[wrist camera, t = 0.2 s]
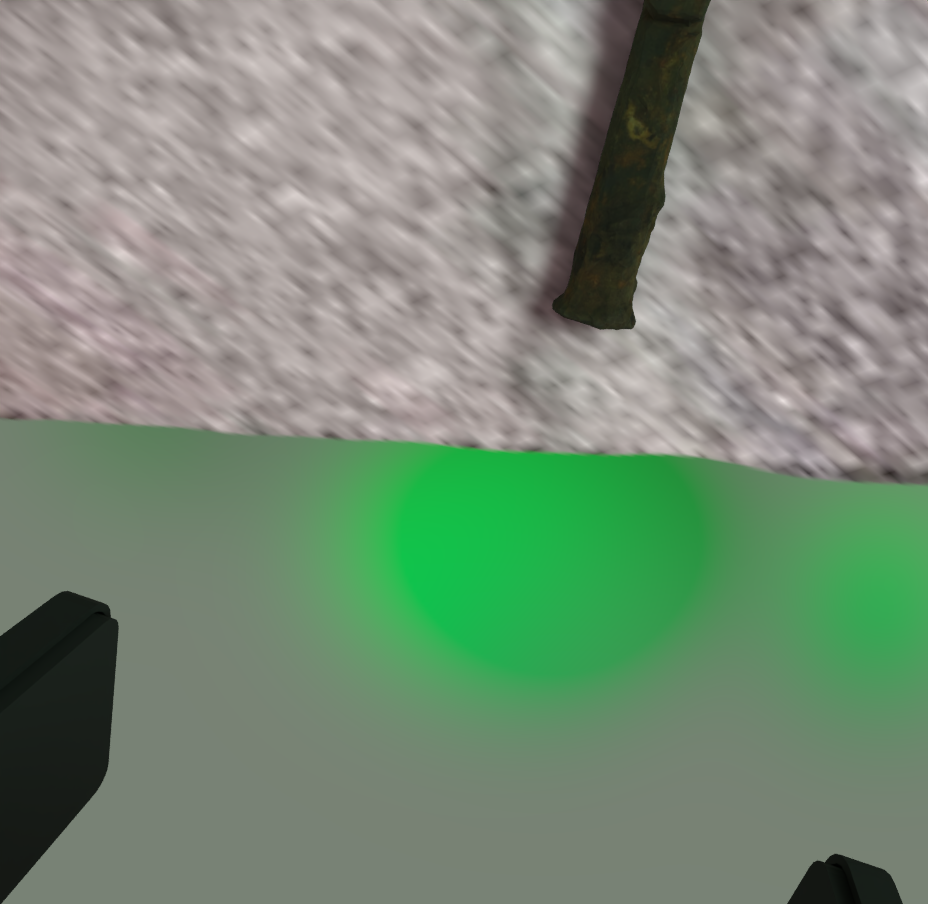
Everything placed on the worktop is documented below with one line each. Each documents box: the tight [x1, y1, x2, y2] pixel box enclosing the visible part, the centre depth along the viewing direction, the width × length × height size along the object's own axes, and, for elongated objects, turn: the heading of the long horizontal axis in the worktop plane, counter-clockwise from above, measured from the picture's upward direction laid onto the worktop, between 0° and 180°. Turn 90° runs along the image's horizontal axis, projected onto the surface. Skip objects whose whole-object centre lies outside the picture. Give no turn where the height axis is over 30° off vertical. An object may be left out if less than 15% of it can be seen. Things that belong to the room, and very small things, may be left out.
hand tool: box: [552, 0, 711, 330], centre depth 32 cm, size 19×4×5 cm, turn 166°
